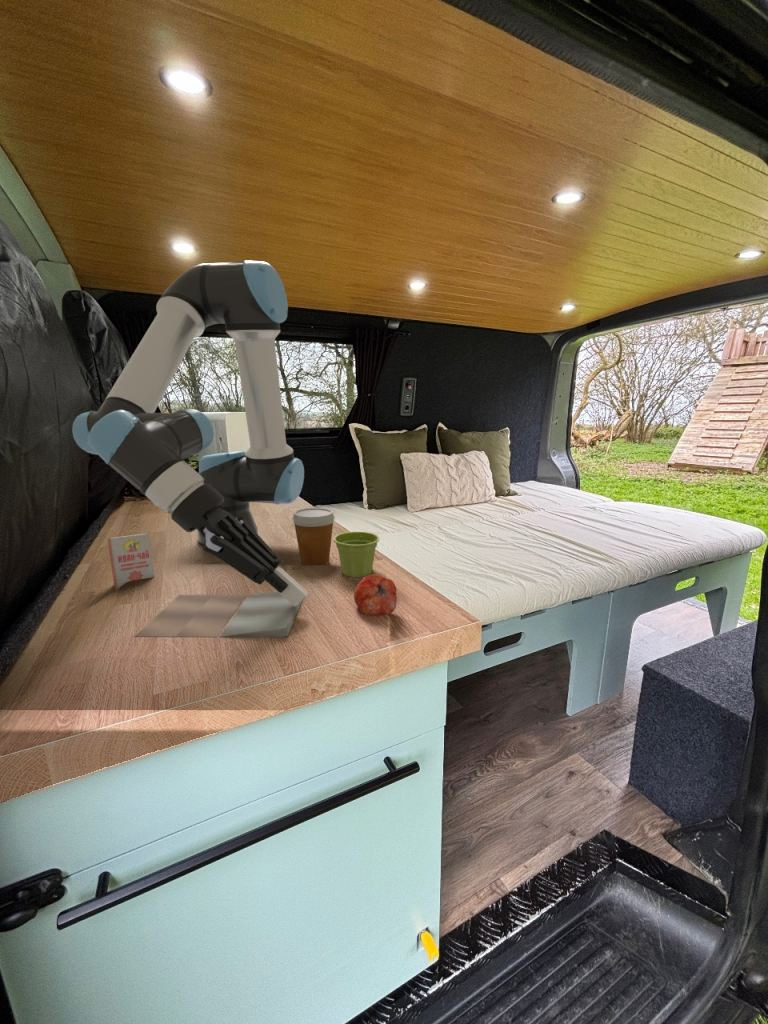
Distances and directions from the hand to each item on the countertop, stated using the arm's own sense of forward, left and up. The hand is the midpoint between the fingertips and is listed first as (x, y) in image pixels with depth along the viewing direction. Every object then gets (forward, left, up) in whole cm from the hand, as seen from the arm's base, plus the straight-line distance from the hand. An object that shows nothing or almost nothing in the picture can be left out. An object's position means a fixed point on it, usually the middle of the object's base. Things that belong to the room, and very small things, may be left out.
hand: (301, 599), depth 66 cm
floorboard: (0, -17, -4) cm, 18 cm away
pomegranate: (-3, +12, -4) cm, 13 cm away
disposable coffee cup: (-27, -2, -4) cm, 27 cm away
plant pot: (-19, +8, -4) cm, 21 cm away
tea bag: (-15, -36, -4) cm, 39 cm away
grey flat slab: (0, -6, -3) cm, 7 cm away
